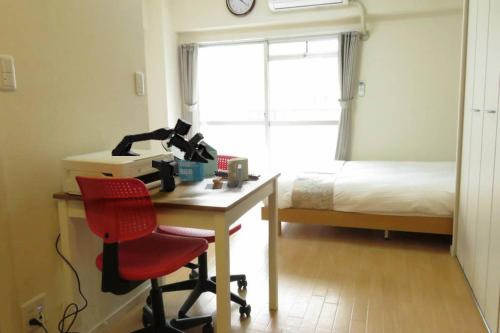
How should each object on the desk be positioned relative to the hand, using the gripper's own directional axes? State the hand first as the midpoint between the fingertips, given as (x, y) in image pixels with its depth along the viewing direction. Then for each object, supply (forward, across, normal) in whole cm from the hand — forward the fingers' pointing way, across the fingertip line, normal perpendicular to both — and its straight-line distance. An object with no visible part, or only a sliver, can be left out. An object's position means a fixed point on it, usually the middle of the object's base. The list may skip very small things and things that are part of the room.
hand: (211, 160), depth 176 cm
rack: (+10, +6, +10) cm, 15 cm away
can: (+14, +22, +8) cm, 27 cm away
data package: (-8, +19, +21) cm, 29 cm away
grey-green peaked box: (-8, +36, +21) cm, 43 cm away
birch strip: (+13, +6, +7) cm, 16 cm away
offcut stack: (+7, +5, +10) cm, 14 cm away
